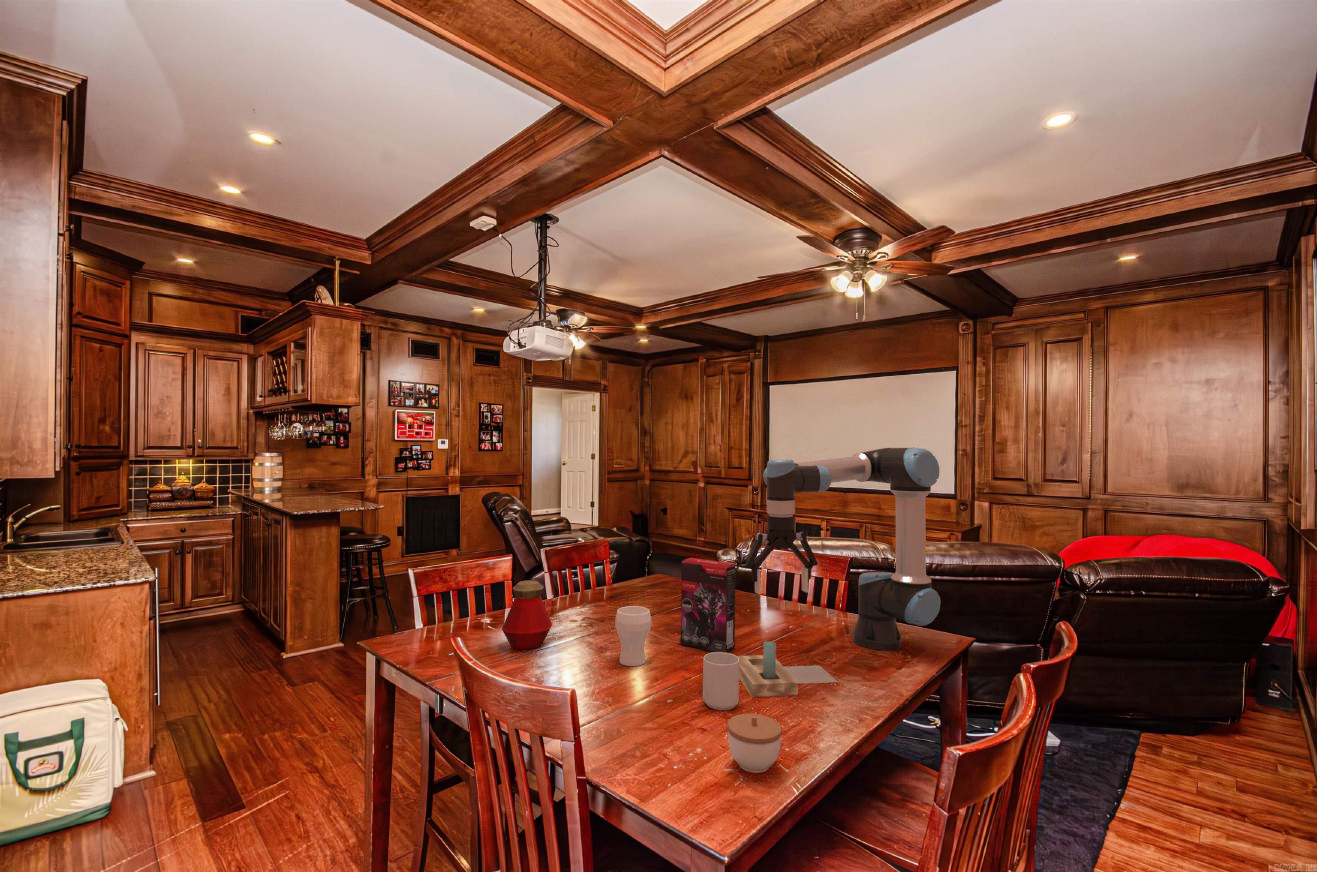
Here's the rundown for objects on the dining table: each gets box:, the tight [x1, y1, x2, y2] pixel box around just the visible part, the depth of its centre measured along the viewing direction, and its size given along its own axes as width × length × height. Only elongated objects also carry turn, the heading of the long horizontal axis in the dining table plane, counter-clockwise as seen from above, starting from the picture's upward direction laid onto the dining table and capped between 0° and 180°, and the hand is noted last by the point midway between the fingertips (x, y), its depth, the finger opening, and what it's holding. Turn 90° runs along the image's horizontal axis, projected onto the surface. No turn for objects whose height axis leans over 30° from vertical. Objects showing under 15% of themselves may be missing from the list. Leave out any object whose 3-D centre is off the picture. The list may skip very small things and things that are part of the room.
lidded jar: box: [726, 713, 783, 774], centre depth 115 cm, size 11×11×9 cm
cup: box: [614, 605, 652, 667], centre depth 170 cm, size 11×11×15 cm
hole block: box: [736, 654, 799, 699], centre depth 156 cm, size 12×20×4 cm, turn 8°
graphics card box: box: [679, 557, 737, 653], centre depth 183 cm, size 17×7×27 cm, turn 57°
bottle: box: [501, 580, 553, 651], centre depth 182 cm, size 16×14×20 cm
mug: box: [702, 652, 740, 711], centre depth 144 cm, size 12×9×11 cm
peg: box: [762, 640, 777, 680], centre depth 151 cm, size 3×3×12 cm
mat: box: [783, 665, 838, 685], centre depth 161 cm, size 12×12×1 cm
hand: (781, 592), depth 158 cm, fingers open, 13 cm apart
